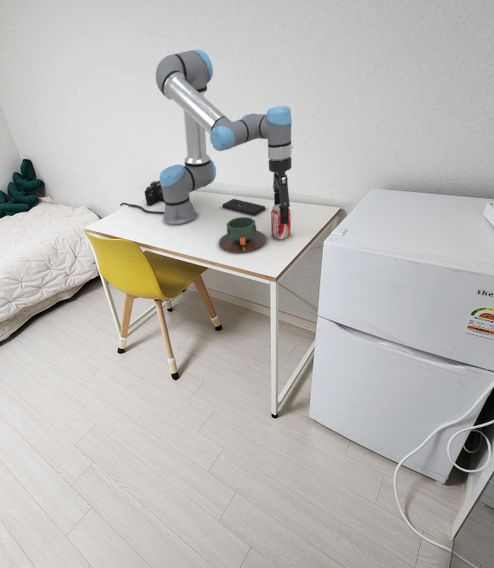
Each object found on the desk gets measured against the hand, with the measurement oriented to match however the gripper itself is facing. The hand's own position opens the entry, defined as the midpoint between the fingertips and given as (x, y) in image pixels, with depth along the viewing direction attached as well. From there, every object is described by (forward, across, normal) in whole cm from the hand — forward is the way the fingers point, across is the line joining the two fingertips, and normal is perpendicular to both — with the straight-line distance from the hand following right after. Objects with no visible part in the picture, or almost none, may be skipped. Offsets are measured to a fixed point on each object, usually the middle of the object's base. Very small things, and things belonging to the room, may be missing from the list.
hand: (281, 216), depth 129 cm
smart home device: (+8, +32, +12) cm, 35 cm away
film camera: (+8, +59, +55) cm, 81 cm away
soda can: (+9, 0, 0) cm, 9 cm away
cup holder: (+5, -2, +15) cm, 16 cm away
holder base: (+8, 0, +15) cm, 17 cm away
